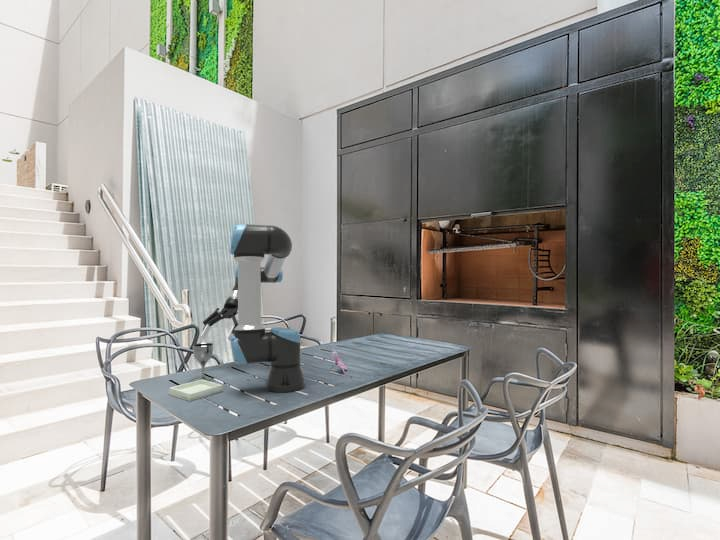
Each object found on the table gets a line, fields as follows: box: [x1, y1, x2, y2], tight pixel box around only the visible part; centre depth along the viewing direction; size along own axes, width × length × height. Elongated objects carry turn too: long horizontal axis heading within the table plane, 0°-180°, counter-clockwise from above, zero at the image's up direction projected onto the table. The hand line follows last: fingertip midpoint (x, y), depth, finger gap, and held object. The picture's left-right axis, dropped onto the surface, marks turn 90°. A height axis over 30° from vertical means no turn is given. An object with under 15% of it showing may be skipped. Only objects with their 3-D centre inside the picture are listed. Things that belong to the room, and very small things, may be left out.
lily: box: [329, 348, 348, 374], centre depth 179 cm, size 12×12×10 cm
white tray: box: [168, 380, 224, 402], centre depth 148 cm, size 14×14×2 cm
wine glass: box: [192, 342, 214, 382], centre depth 165 cm, size 8×8×15 cm
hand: (215, 338), depth 174 cm, fingers open, 13 cm apart
